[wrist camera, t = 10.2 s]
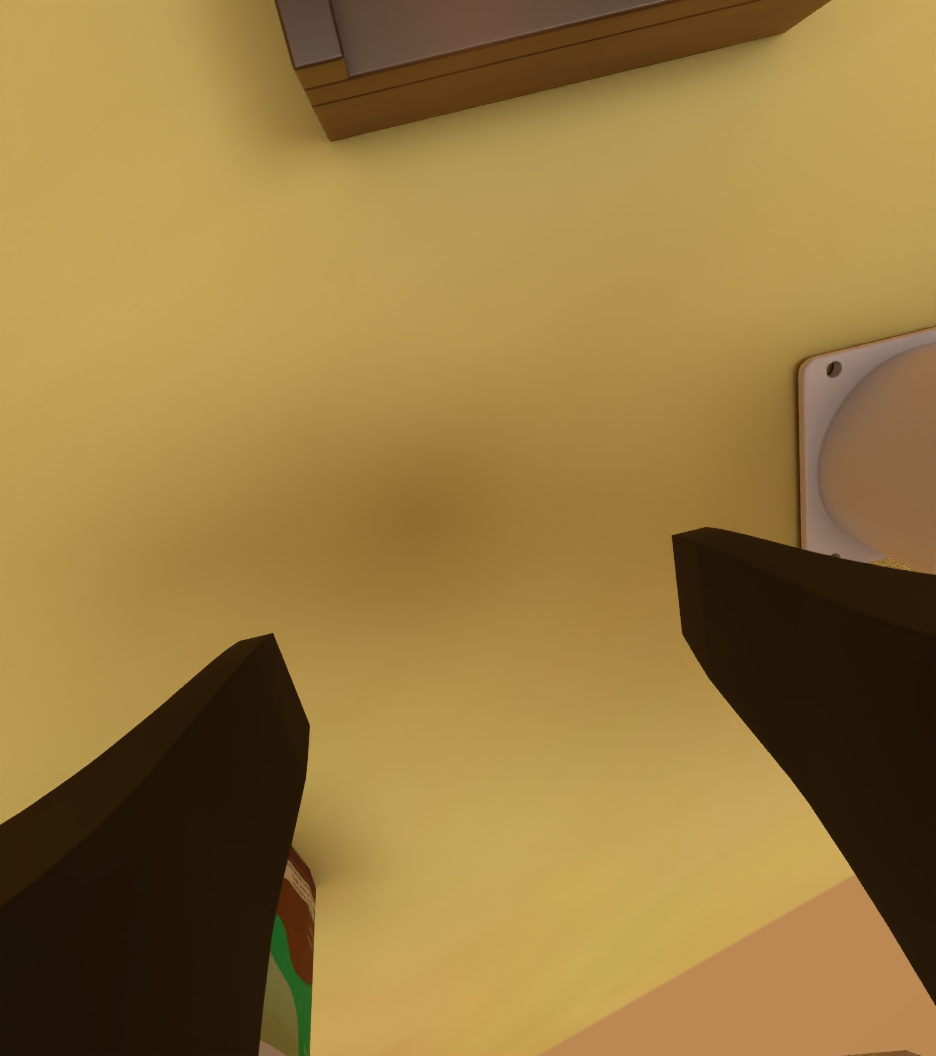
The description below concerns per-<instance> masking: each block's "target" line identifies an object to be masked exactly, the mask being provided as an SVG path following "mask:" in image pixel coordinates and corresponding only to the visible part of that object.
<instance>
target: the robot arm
mask: <svg viewBox="0 0 936 1056" xmlns="http://www.w3.org/2000/svg"><path fill="white" fill-rule="evenodd" d="M832 362H833V363H834V369H833V372H832V373H831V374H830V375H828V376H827V372H826V370H827V367H828V366H829V364H830V363H832ZM798 397H799V449H800V500H801V549H800V548H796V547H792V546H788V545H784V544H780V543H776V542H772V541H768V540H764V539H761V538H757V537H753V536H749V535H745V534H741V533H736V532H732V531H727V530H723V529H717V528H709V527H704V528H700V529H696V530H692V531H688V532H684V533H680V534H675V535H672V542H673V551H674V561H675V570H676V580H677V589H678V599H679V608H680V617H681V627H682V634H683V636H684V638H685V639H686V641H687V643H688V645H689V646H690V648H691V650H692V652H693V653H694V655H695V657H696V658H697V660H698V662H699V663H700V665H701V666H702V668H703V670H704V671H705V673H706V675H707V676H708V678H709V679H710V680H711V682H712V683H713V684H714V685H715V687H716V688H717V689H718V691H719V692H720V693H721V694H722V695H723V697H724V698H725V699H726V700H727V702H728V703H729V704H730V705H731V707H732V708H733V709H734V710H735V712H736V713H737V714H738V715H739V717H740V718H741V719H742V720H743V721H744V723H745V724H746V725H747V726H748V727H749V729H750V730H751V731H752V732H753V734H754V735H755V736H756V737H757V738H758V740H759V741H760V742H761V743H762V745H763V746H764V747H765V748H766V749H767V751H768V752H769V753H770V754H771V756H772V757H773V758H774V759H775V760H776V762H777V763H778V764H779V765H780V767H781V768H782V769H783V770H784V771H785V773H786V774H787V775H788V776H789V778H790V779H791V780H792V781H793V783H794V784H795V785H796V787H797V788H798V789H799V791H800V792H801V793H802V795H803V796H804V797H805V799H806V800H807V801H808V803H809V804H810V806H811V807H812V809H813V810H814V812H815V813H816V815H817V816H818V818H819V819H820V821H821V822H822V824H823V825H824V827H825V828H826V830H827V832H828V833H829V835H830V836H831V838H832V839H833V841H834V842H835V844H836V845H837V847H838V848H839V850H840V851H841V853H842V854H843V856H844V857H845V859H846V860H847V862H848V863H849V865H850V867H851V868H852V870H853V871H854V873H855V875H856V876H857V878H858V879H859V881H860V882H861V884H862V886H863V887H864V889H865V890H866V892H867V894H868V895H869V897H870V898H871V900H872V901H873V903H874V904H875V906H876V908H877V909H878V911H879V912H880V914H881V916H882V917H883V918H884V920H885V922H886V923H887V925H888V927H889V928H890V930H891V932H892V934H893V935H894V937H895V938H896V940H897V942H898V944H899V945H900V947H901V948H902V950H903V952H904V953H905V955H906V957H907V959H908V960H909V962H910V964H911V965H912V967H913V969H914V970H915V972H916V973H917V975H918V977H919V979H920V980H921V982H922V984H923V985H924V987H925V989H926V990H927V992H928V994H929V995H930V997H931V999H932V1000H933V1002H934V1004H935V1005H936V327H933V328H929V329H924V330H920V331H916V332H912V333H908V334H904V335H900V336H896V337H892V338H887V339H883V340H879V341H875V342H871V343H867V344H863V345H859V346H855V347H850V348H846V349H842V350H838V351H834V352H830V353H826V354H822V355H817V356H813V357H811V358H809V359H807V360H806V361H805V362H803V363H802V365H801V367H800V369H799V373H798ZM832 554H834V555H833V556H830V555H832ZM886 558H892V559H894V560H896V561H897V562H899V563H901V564H903V565H905V566H907V567H909V568H910V569H912V570H914V571H916V572H912V571H906V570H900V569H894V568H888V567H883V566H878V565H873V564H868V563H870V562H874V561H878V560H882V559H886ZM309 731H310V724H309V722H308V719H307V717H306V714H305V712H304V709H303V707H302V704H301V702H300V699H299V697H298V694H297V692H296V689H295V687H294V684H293V682H292V679H291V677H290V674H289V672H288V669H287V667H286V664H285V662H284V659H283V657H282V654H281V652H280V649H279V647H278V644H277V642H276V639H275V637H274V634H273V633H271V634H267V635H263V636H259V637H255V638H250V639H246V640H242V641H239V642H237V643H236V644H234V645H233V646H231V647H230V648H228V649H227V650H226V651H224V652H223V653H222V654H221V655H219V656H218V657H217V658H216V659H214V660H213V661H212V662H211V663H210V664H209V665H207V666H206V667H205V668H204V669H203V670H202V671H200V672H199V673H198V674H197V675H196V676H195V677H193V678H192V679H191V680H190V681H189V682H188V683H187V684H185V685H184V686H183V687H182V688H181V689H180V690H179V691H177V692H176V693H175V694H174V695H173V696H172V697H170V698H169V699H168V700H167V701H166V702H165V703H164V704H162V705H161V706H160V707H159V708H158V709H157V710H155V711H154V712H153V713H152V714H151V715H149V716H148V717H147V718H146V719H144V720H143V721H142V722H141V723H140V724H138V725H137V726H136V727H135V728H133V729H132V730H131V731H130V732H129V733H127V734H126V735H125V736H124V737H122V738H121V739H120V740H119V741H117V742H116V743H115V744H114V745H113V746H111V747H110V748H109V749H108V750H106V751H105V752H104V753H103V754H101V755H100V756H99V757H98V758H96V759H95V760H94V761H92V762H91V763H90V764H88V765H87V766H86V767H84V768H83V769H82V770H80V771H79V772H78V773H76V774H75V775H73V776H72V777H71V778H69V779H68V780H67V781H65V782H64V783H62V784H61V785H59V786H58V787H57V788H55V789H54V790H52V791H51V792H49V793H48V794H47V795H45V796H44V797H42V798H41V799H39V800H38V801H36V802H35V803H34V804H32V805H31V806H29V807H28V808H26V809H25V810H23V811H22V812H20V813H19V814H17V815H15V816H14V817H12V818H11V819H9V820H7V821H6V822H4V823H2V824H1V825H0V1056H259V1047H260V1037H261V1027H262V1017H263V1007H264V998H265V990H266V982H267V973H268V965H269V957H270V949H271V941H272V934H273V928H274V923H275V917H276V912H277V906H278V901H279V897H280V892H281V888H282V884H283V879H284V875H285V870H286V866H287V862H288V857H289V853H290V848H291V844H292V839H293V835H294V831H295V826H296V822H297V817H298V813H299V808H300V803H301V799H302V794H303V789H304V785H305V780H306V772H307V761H308V748H309ZM848 1056H920V1055H917V1054H915V1053H912V1052H909V1051H906V1050H903V1051H892V1052H881V1053H870V1054H859V1055H848Z"/></svg>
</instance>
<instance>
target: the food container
mask: <svg viewBox="0 0 936 1056" xmlns="http://www.w3.org/2000/svg"><path fill="white" fill-rule="evenodd" d="M315 899H316V888H315V885H314V882H313V878H312V875H311V872H310V870H309V868H308V867H307V866H306V864H305V863H304V862H303V861H302V859H301V858H300V857H299V855H298V854H297V853H296V852H295V850H294V849H293V848H292V846H291V848H290V853H289V857H288V862H287V866H286V870H285V875H284V879H283V884H282V888H281V892H280V897H279V901H278V906H277V912H276V917H275V923H274V928H273V934H272V941H271V949H270V957H269V965H268V973H267V982H266V990H265V998H264V1007H263V1017H262V1027H261V1037H260V1047H259V1056H310V1032H311V1005H312V978H313V952H314V925H315Z"/></svg>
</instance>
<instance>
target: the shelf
mask: <svg viewBox="0 0 936 1056" xmlns="http://www.w3.org/2000/svg"><path fill="white" fill-rule="evenodd" d="M274 1H275V5H276V8H277V12H278V15H279V19H280V23H281V26H282V30H283V34H284V37H285V41H286V45H287V48H288V52H289V56H290V59H291V63H292V67H293V69H294V71H295V73H296V75H297V77H298V79H299V81H300V83H301V85H302V87H303V89H304V91H305V93H306V95H307V97H308V99H309V101H310V102H311V105H312V107H313V109H314V111H315V113H316V115H317V117H318V119H319V121H320V123H321V125H322V127H323V129H324V131H325V133H326V135H327V137H328V139H329V140H330V141H333V140H337V139H342V138H346V137H350V136H354V135H358V134H362V133H367V132H371V131H375V130H379V129H383V128H388V127H392V126H396V125H400V124H404V123H408V122H413V121H417V120H421V119H425V118H429V117H433V116H438V115H442V114H446V113H450V112H454V111H459V110H463V109H467V108H471V107H475V106H479V105H484V104H488V103H492V102H496V101H500V100H504V99H509V98H513V97H517V96H521V95H525V94H530V93H534V92H538V91H542V90H546V89H550V88H555V87H559V86H563V85H567V84H571V83H575V82H580V81H584V80H588V79H592V78H596V77H601V76H605V75H609V74H613V73H617V72H621V71H626V70H630V69H634V68H638V67H642V66H646V65H651V64H655V63H659V62H663V61H667V60H672V59H676V58H680V57H684V56H688V55H692V54H697V53H701V52H705V51H709V50H713V49H717V48H722V47H726V46H730V45H734V44H738V43H743V42H747V41H751V40H755V39H759V38H763V37H768V36H772V35H776V34H780V33H784V32H786V31H788V30H789V29H790V28H792V27H793V26H795V25H796V24H798V23H799V22H801V21H802V20H803V19H805V18H806V17H808V16H809V15H811V14H812V13H813V12H815V11H816V10H818V9H819V8H821V7H822V6H823V5H825V4H826V3H828V2H829V1H831V0H274Z"/></svg>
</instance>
